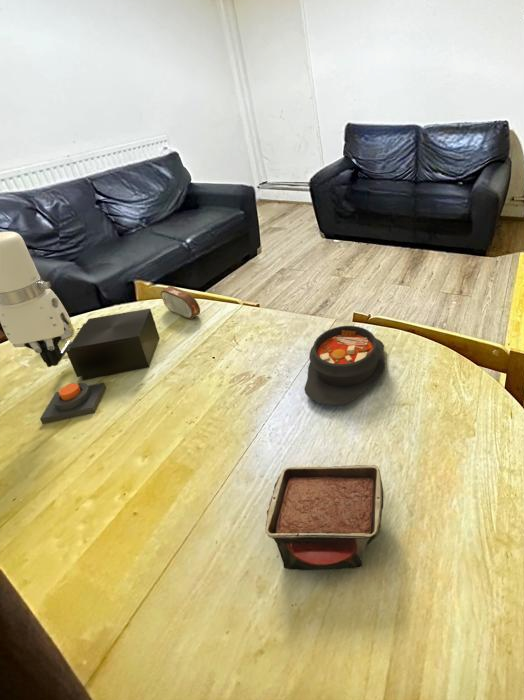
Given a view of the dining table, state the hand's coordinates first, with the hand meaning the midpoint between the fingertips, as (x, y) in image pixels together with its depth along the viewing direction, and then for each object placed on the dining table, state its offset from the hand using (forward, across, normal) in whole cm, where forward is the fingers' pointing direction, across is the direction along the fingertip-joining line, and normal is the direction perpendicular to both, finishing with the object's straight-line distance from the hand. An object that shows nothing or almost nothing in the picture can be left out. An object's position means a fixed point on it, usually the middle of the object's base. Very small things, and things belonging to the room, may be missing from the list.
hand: (55, 362), depth 91 cm
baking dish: (+12, -52, +48) cm, 72 cm away
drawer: (+9, -4, -12) cm, 16 cm away
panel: (+10, -2, +3) cm, 11 cm away
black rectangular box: (+10, -8, -12) cm, 18 cm away
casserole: (+12, -63, +13) cm, 65 cm away
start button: (+7, -2, +3) cm, 8 cm away
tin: (+11, -20, -29) cm, 37 cm away
